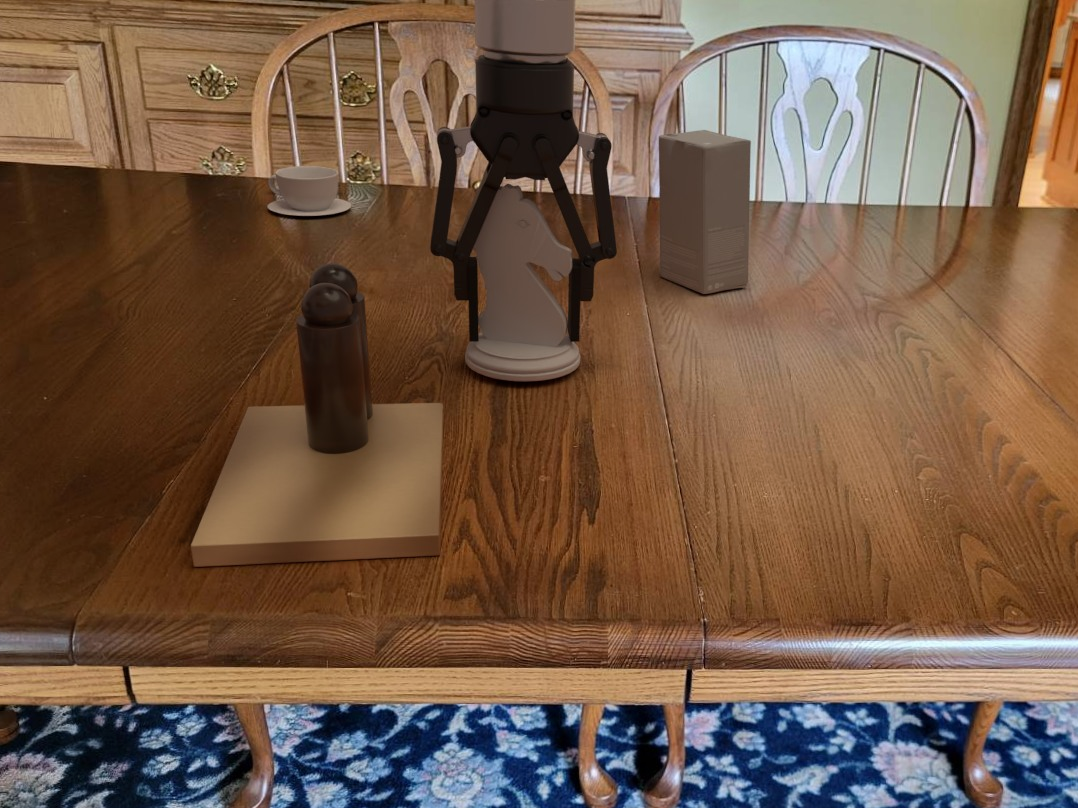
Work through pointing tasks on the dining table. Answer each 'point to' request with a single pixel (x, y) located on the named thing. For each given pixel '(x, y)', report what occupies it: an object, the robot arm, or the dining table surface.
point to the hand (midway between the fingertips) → (524, 335)
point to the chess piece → (520, 295)
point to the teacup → (307, 191)
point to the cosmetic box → (704, 210)
